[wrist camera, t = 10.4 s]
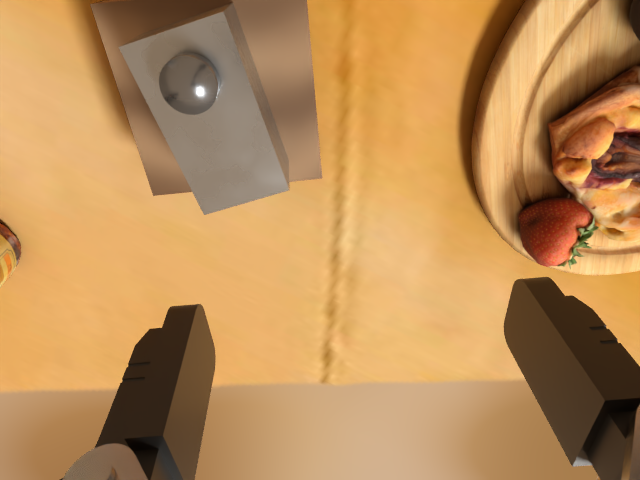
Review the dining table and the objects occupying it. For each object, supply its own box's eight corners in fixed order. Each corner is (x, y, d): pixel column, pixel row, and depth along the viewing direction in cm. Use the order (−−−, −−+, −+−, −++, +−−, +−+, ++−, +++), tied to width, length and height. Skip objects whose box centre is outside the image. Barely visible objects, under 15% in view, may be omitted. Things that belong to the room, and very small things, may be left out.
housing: (288, 160, 30) (289, 199, 25) (214, 182, 31) (201, 225, 26) (232, 2, 25) (220, 14, 20) (143, 33, 25) (110, 51, 20)
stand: (118, -4, 28) (90, 4, 24) (302, -22, 28) (305, -17, 24) (169, 166, 35) (153, 195, 31) (317, 151, 35) (322, 178, 31)
